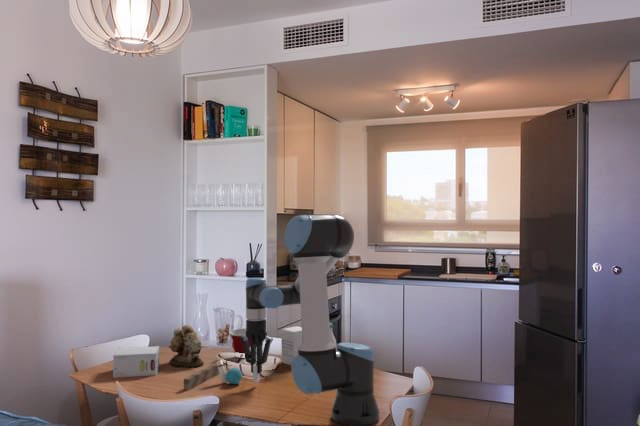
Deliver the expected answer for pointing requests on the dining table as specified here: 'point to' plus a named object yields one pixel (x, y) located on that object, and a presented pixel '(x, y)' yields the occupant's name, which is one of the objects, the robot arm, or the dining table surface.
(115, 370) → the supplement box
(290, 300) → the robot arm
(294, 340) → the supplement box
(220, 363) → the pin
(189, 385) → the stopper wall
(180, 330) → the brown lumpy figure
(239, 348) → the plastic cup
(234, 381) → the ball
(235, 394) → the dining table surface
